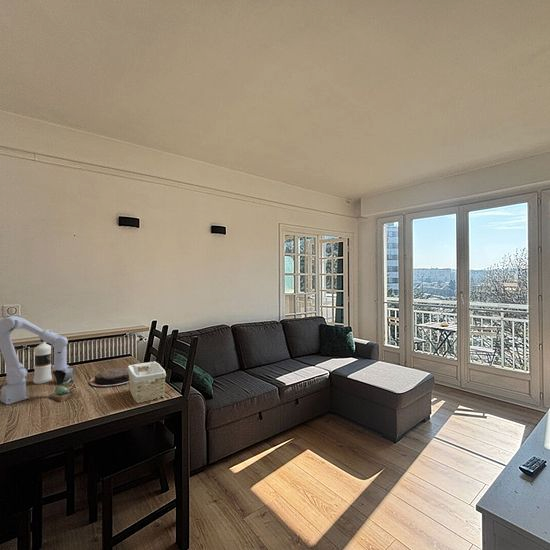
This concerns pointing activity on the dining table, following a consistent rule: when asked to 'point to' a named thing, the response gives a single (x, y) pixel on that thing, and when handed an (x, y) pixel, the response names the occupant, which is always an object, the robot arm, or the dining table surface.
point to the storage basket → (146, 381)
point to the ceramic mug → (69, 376)
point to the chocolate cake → (111, 378)
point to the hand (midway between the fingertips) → (60, 383)
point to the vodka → (42, 363)
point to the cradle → (67, 396)
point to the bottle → (62, 390)
